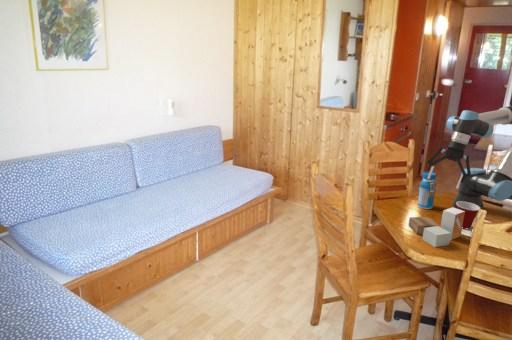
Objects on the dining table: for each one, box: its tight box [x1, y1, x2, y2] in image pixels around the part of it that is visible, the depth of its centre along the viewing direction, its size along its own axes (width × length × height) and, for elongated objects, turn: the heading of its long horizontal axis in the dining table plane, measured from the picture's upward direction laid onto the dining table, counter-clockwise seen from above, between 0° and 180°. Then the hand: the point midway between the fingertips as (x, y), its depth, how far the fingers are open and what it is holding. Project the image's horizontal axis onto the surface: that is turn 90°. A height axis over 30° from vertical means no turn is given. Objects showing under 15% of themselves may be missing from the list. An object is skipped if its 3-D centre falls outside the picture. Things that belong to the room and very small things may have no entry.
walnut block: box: [408, 216, 440, 236], centre depth 189 cm, size 10×10×5 cm
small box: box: [440, 206, 465, 241], centre depth 182 cm, size 8×6×13 cm
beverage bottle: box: [416, 171, 437, 210], centre depth 217 cm, size 8×8×20 cm
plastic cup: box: [456, 201, 480, 229], centre depth 192 cm, size 11×11×12 cm
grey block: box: [422, 225, 451, 248], centre depth 176 cm, size 8×8×6 cm
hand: (442, 183), depth 190 cm, fingers open, 13 cm apart
